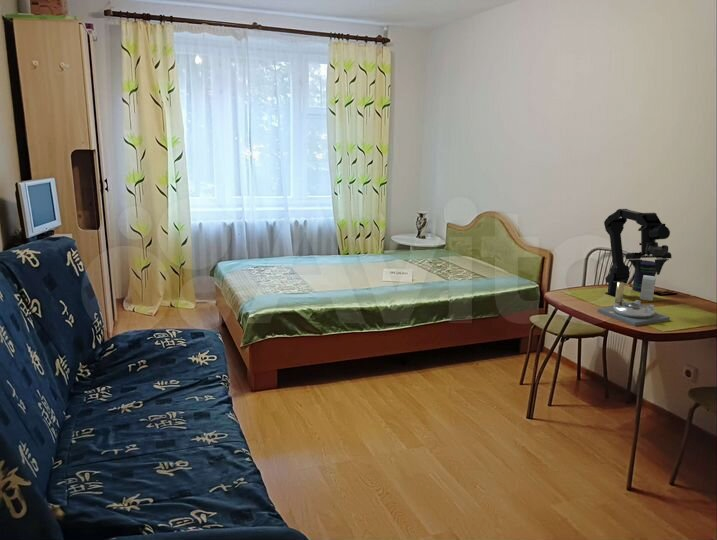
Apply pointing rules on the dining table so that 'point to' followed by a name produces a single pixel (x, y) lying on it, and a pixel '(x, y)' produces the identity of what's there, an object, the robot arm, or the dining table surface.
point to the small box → (647, 287)
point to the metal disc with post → (631, 305)
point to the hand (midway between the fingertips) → (648, 274)
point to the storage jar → (646, 269)
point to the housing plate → (634, 321)
